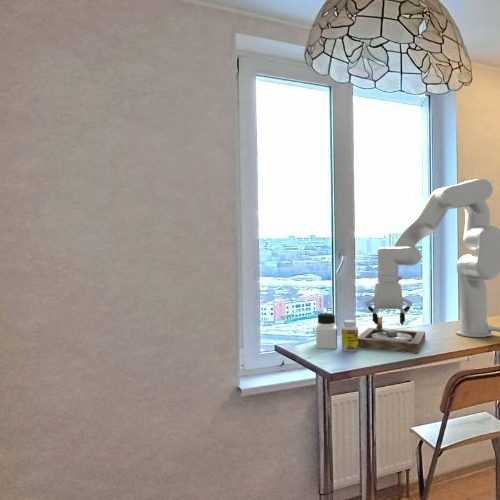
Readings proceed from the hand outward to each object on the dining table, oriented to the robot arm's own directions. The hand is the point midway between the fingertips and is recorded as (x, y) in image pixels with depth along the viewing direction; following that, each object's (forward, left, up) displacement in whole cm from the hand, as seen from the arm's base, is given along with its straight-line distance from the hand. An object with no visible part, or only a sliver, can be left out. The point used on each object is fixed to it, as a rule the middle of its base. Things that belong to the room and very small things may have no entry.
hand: (388, 323), depth 168 cm
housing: (-2, +8, -6) cm, 10 cm away
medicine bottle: (+18, +20, -6) cm, 28 cm away
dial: (-2, +7, -5) cm, 8 cm away
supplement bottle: (+9, +22, -6) cm, 25 cm away
